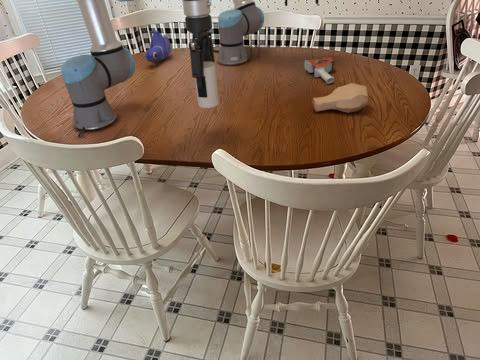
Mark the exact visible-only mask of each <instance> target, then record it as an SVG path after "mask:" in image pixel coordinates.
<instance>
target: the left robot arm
mask: <svg viewBox="0 0 480 360" xmlns="http://www.w3.org/2000/svg"><path fill="white" fill-rule="evenodd" d="M76 1H77V4H78V7H79V10H80V13H81V16H82V19H83V21H84V25H85V27H86V30H87V33H88V36H89V39H90V42H91V44H92V45H91V46H90V49H89V52H90V54H80V55H78V56H77V55H76V56H73V57H70V58H68V59H67V60H65V61H64V62H63V63H62V64H61V67H60V72H61V77H62V81H63V82H64V84H65V87H66V90H67V93H68V96H69V99H70V101H71V104H72V108H73V114H72V117H73V118H72V119H73V125H74V128H75V129H76V131H78V134H77V137H78V138H81V136H82V133H92V132H99V131H102V130H105V129H107V128H110V127H111V126H113V125H115V124H116V122H117V121H118V116H117V113H116V111H115V110H114V108H113V107H112V105H111V103H110V102H109V101H108V99H107V96H106V92H105V90H108V89H110V88H112V87H114V86H117V85H119V84H122V83H124V82H126V81H127V80H129V79H131V78H132V77H133V76H134V74H135V70H136V63H135V59H134V56H133V54H132V53H131V52H130V50H129V49H128V48H126V47H125V46H124V45H123V43H122V42H121V41H119V40H118V39H117V37H116V33H115V30H114V27H113V23H112V20H111V16H110V13H109V10H108V7H107V4H106V1H105V0H76ZM117 2H122V3H123V2H134V0H117ZM181 2H182V9H183V15H184V16H185V18H184V22H185V28H186V31H187V32H189V33H191V35H192V37H191V38H192V39H191V42H189V43H188V49H189V56H190V65H191V76H192V78H193V79H194V78H196V82H197V90H198V97H203V98H207V89H206V80H205V76H204V61H211V62H214V63H215V67H217V66H216V60H215V54H214V53H215V52H214V51H213V50H214V46H213V45H214V44H213V37H212V36H213V34H212V31H211V30H212V29H213V22H212V15H211V6H212V2H211V1H210V0H182V1H181ZM212 44H213V45H212Z"/></svg>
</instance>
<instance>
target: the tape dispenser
mask: <svg viewBox="0 0 480 360" xmlns="http://www.w3.org/2000/svg"><path fill="white" fill-rule="evenodd" d="M320 61H323V62H320ZM334 65H335V59H333V57H332V56H328V57H321V58H315V59H309V60H308V59H305V60H304V70H305V71H307V73H310V74H312V73H314V78H322V79H323V81H325V84H327V85H329V84H332V83H333V82H334V81H335V77H334V76H332V75H331V74H329V73H330V72H331V73H332V72H333V70H334Z"/></svg>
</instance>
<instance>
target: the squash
mask: <svg viewBox="0 0 480 360" xmlns="http://www.w3.org/2000/svg"><path fill="white" fill-rule="evenodd" d="M368 102H369V92H368V88H367V86H365V85H363V84H357V83H354V82H353V83H352V82H350V83H348V84H345V85H342V86H337V87H336V88H335V89H334V90H333V91H332V92H331V93H330V94H328V95H324V96H320V97H319V96H318V97H313V98H312V105H313V108H314V111H315V112H321V111H326V110H337V111H339V112H343V113H355V112H359V111H360V110H362V109H363V108H365V107H366V106H367V104H368Z"/></svg>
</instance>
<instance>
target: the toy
mask: <svg viewBox="0 0 480 360" xmlns="http://www.w3.org/2000/svg"><path fill="white" fill-rule="evenodd" d="M149 33H151V34H152V36H151V38H150V43H149V44H150V45H149V48H148V49H145V52H144V58H145V59H146V60H147V61H148V62H150V63H151V65H152V67H155V62H160V61H162V60H166V59H167V58H168V57H169V55H170V54H171V52H172V46H171V42H170V39H169V38H168V37H167V35H165V34H162V33H161V32H160V31H159V30H150V31H149Z"/></svg>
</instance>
